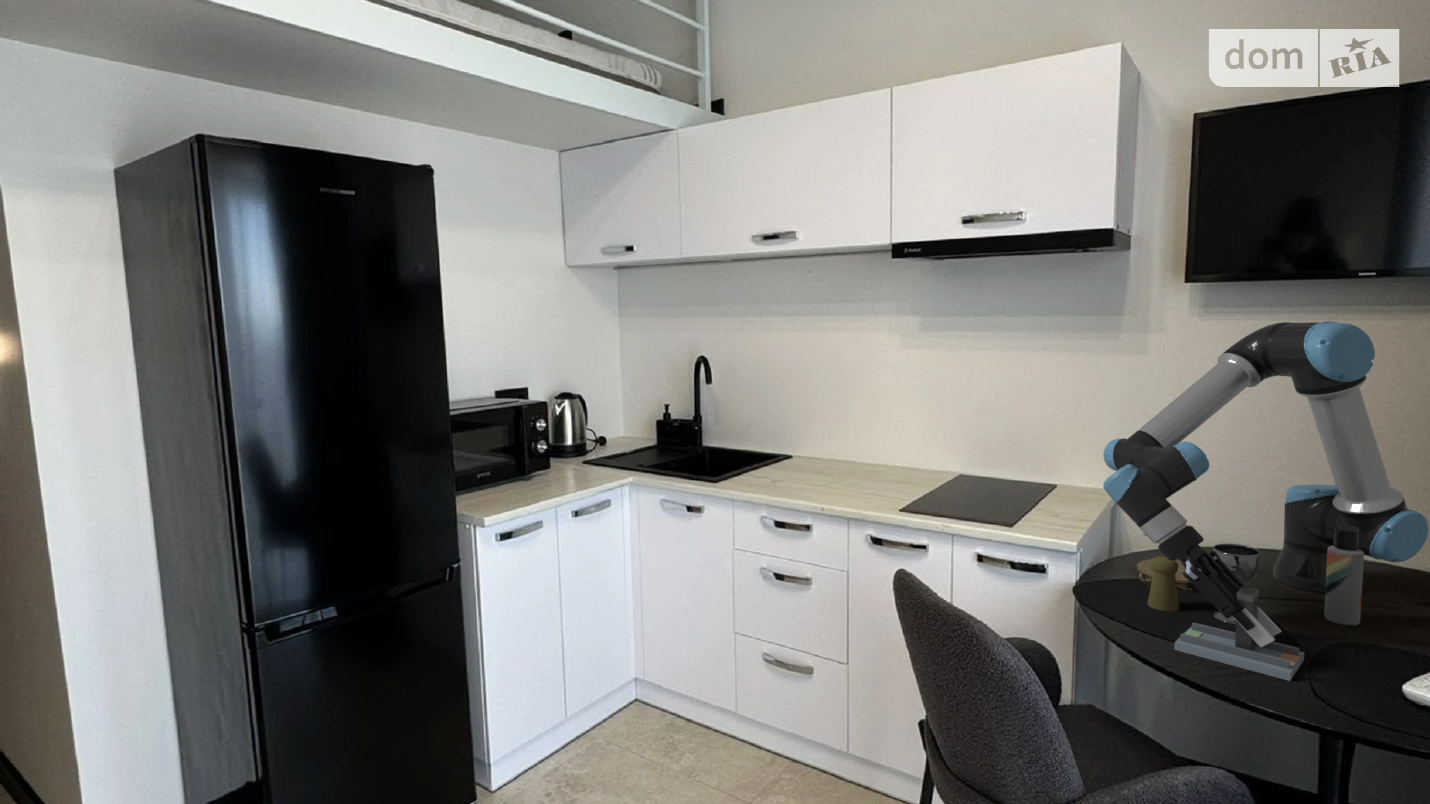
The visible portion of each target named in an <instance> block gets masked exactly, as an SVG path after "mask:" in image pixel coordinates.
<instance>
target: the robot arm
mask: <svg viewBox="0 0 1430 804" xmlns="http://www.w3.org/2000/svg"><path fill="white" fill-rule="evenodd" d="M1375 353H1376V349H1375V346H1374V344H1373V341H1372V339H1371V338H1370V336H1369V334H1368V333H1367V332H1366V331H1364V330H1363V329H1362V328H1360V327H1359V326H1357V325H1354V324H1351V323H1347V322H1346V323H1345V322H1338V321H1329V320H1328V321H1322V322H1321V321H1320V322H1317V321H1315V322H1313V321H1312V322H1290V321H1289V322H1288V321H1286V322H1284V321H1282V322H1276V323H1272V324H1268V325H1265V326H1263V327H1261V328H1259V329H1257V330H1255V331H1252V332H1251V333H1249V334H1248V335H1246V336H1244V337H1243V338H1241V339H1239V340H1238V341H1237V342H1236V343H1234V344H1232V345H1231V346H1230V347H1229V348H1227V349H1226V350H1225V351H1224V352H1222V353H1221V354H1220V355H1219V356H1218V358H1217V364H1215V365H1214V366H1213V367H1212V368H1211V369H1209V371H1207V372H1206V373H1204V374H1203V375H1202V376H1201V377H1200V378H1199V379H1198V380H1196V381H1195V382H1194V383H1193V384H1191V385H1190V386H1188V388H1186V389H1185V390H1184V391H1183V392H1182V393H1180V395H1179V396H1177V397H1176V398H1175V399H1173V401H1171V402H1170V403H1169V404H1168V405H1166V406H1165V407H1164V408H1163V409H1161V411H1159V412H1158V413H1157V414H1156V415H1154V416H1153V417H1152V418H1151V419H1149V420H1148V421H1147V422H1146V423H1145V424H1143V426H1141V427H1140V428H1139V429H1138V430H1136V431H1135V432H1134V433H1133V434H1132V435H1130V436H1129V437H1128V438H1115V439H1112V440H1110V441H1109V442H1108V443H1107V444H1106V445H1105V447H1104V450H1103V455H1102V457H1103V461H1104V463H1105V465H1106V466H1107V467H1108V468H1109V469H1111V470H1113V471H1115V472H1113V473H1112V474H1111V475H1109V476H1108V477H1107V478H1106V479H1105V480H1104V482H1103V485H1102V487H1103V489H1104V490H1105V492H1106V493H1107V495H1108V496H1109V497H1110V498H1111V499H1112V501H1113V503H1115V504H1116V505H1117V506H1118V507H1119V508H1120V509H1121V510H1122V511H1123V512H1124V513H1125V514H1126V516H1128V517H1129V518H1130V520H1132V521H1133V522H1134V523H1135V525H1136V526H1137V527H1138V528H1139V529H1140V530H1141V531H1142V535H1143V536H1144V537H1147V538H1148V539H1149V540H1150V541H1151V542H1152V543H1153V544H1158V546H1157V547H1158V550H1159V551H1160V552H1161V553H1162V554H1163V555H1164V557H1167V558H1168V559H1169V560H1170V561H1174V560H1180V561H1181V563H1182V564H1183V566H1184V567H1185V568H1186V571H1184V572H1183V573H1182V574H1183V576H1184V577H1185V578H1187V579H1188V580H1189V581H1190V582H1192V583H1193V584H1194V585H1195V586H1196V587H1197V588H1198V589H1199V590H1200V592H1199V593H1201V594H1202V595H1203V596H1204V597H1205V598H1206V599H1207V600H1208V601H1209V602H1210V603H1211V604H1212V606H1214V607H1215V609H1216V610H1217V611H1218V612H1220V613H1221V614H1222V615H1223V616H1224V617H1225V618H1227V619H1228V618H1230V617H1231V616H1232V617H1233V618H1234V619H1235V620H1236V621H1237V622H1238V623H1239V624H1240V626H1241V627H1242V628H1243V629H1244V630H1245V631H1246V632H1247V633H1248V634H1249V635H1250V636H1251V637H1252V638H1253V639H1254V641H1255V642H1256V643H1257V644H1258V645H1259V646H1260V647H1263V646H1265V645H1266V644H1268V643H1270V642H1275V640H1276V638H1275V636H1276V635H1279V634H1281V632H1282V630H1281V628H1279V626H1277V624H1276V623H1274V622H1273V620H1272V619H1271V618H1270V617H1269V615H1267V614H1266V613H1265V612H1264V611H1263V610H1262V609H1261V608H1260V606H1258V614H1257V619H1256V618H1255V617H1254V616H1253V615H1252V614H1251V613H1250V612H1249V611H1248V610H1247V609H1246V608H1245V609H1242V607H1241V606H1240V605H1239V603H1238V602H1237V592H1238V591H1239V590H1240V589H1241V588H1242V587H1247V585H1246V586H1245V585H1244V584H1243V583H1242V582H1241V581H1240V579H1239V578H1238V577H1237V576H1236V575H1235V574H1234V573H1233V572H1232V571H1231V570H1230V569H1229V568H1228V567H1227V566H1226V565H1225V564H1224V562H1223V561H1222V560H1221V559H1220V557H1219V556H1218V555H1217V553H1216V552H1214V551H1213V550H1212V551H1210V552H1208V551H1207V550H1205V549H1204V548H1203V547H1201V546H1200V544H1201V543H1203V542H1204V537H1203V536H1202V535H1201V534H1200V533H1199V532H1198V531H1197V530H1196V529H1195V527H1193V525H1189V524H1187V523H1188V519H1186V518H1185V516H1183V514H1181V513H1180V512H1179V511H1178V509H1177V508H1175V507H1174V505H1172V504H1171V502H1170V501H1169V500H1168V499H1169V498H1170V497H1172V496H1173V495H1174V494H1176V493H1178V492H1179V491H1181V490H1183V489H1184V488H1185V487H1187V486H1189V485H1190V484H1193V483H1194V482H1196V481H1197V480H1198V478H1200V477H1201V476H1203V475H1204V474H1205V473H1206V472H1208V470H1209V468H1210V461H1209V459H1208V457H1207V455H1206V453H1205V452H1204V451H1203V450H1202V449H1201V448H1200V447H1199V446H1198V445H1196V444H1195V443H1193V442H1190V441H1184V439H1186V438H1187V437H1188V436H1190V435H1191V434H1193V432H1195V431H1196V430H1197V429H1199V428H1200V427H1201V426H1202V425H1203V424H1204V423H1205V422H1207V421H1208V420H1209V419H1210V418H1212V417H1213V416H1214V415H1215V414H1216V413H1218V412H1219V411H1220V410H1221V409H1222V408H1223V407H1224V406H1226V405H1227V404H1228V403H1229V402H1231V401H1232V400H1233V399H1234V398H1235V397H1237V396H1238V395H1239V394H1240V393H1242V392H1243V391H1245V389H1246V388H1254V387H1256V386H1258V385H1259V384H1260V383H1261V382H1263V381H1264V380H1266V379H1269V378H1272V377H1289V378H1291V380H1292V382H1293V383H1292V384H1293V386H1294V390H1295V392H1296V393H1297V394H1298V395H1300V396H1303V397H1305V398H1307V400H1308V404H1309V406H1310V410H1311V412H1312V415H1313V420H1314V422H1315V424H1316V429H1317V431H1318V435H1319V438H1320V441H1321V443H1322V447H1323V449H1324V453H1325V455H1326V458H1327V462H1328V465H1329V468H1330V472H1331V474H1332V478H1333V480H1334V481H1333V482H1334V485H1333V484H1299V485H1294V486H1290V487H1288V489H1287V490H1286V494H1285V495H1286V496H1285V501H1284V518H1283V519H1284V521H1283V522H1284V523H1283V546H1282V549H1281V550H1280V552H1279V555H1278V557H1277V560H1276V562H1275V564H1274V565H1273V569H1272V570H1273V571H1272V573H1273V574H1272V577H1273V578H1274V579H1275V580H1276V581H1278V582H1280V583H1282V584H1284V585H1287V586H1290V587H1294V588H1297V589H1301V590H1306V591H1313V592H1319V593H1325V589H1326V569H1327V551H1328V547H1330V546H1333V544H1334V529H1335V527H1337V525H1340V524H1345V525H1350V526H1353V527H1355V528H1358V529H1359V546H1358V549H1360V550H1362V551H1363V552H1364V556H1367V557H1370V558H1373V559H1374V560H1379V561H1382V560H1383V561H1386V562H1389V563H1402V562H1406V561H1408V560H1410V559H1411V558H1413V557H1415V556H1416V555H1417V554H1418V553H1419V552H1420V551H1421V550H1422V549H1423V546H1424V544H1425V543H1426V542H1427V539H1428V535H1429V523H1428V521H1427V517H1425V516H1424V514H1422V513H1421V512H1419V511H1417V510H1414V509H1409V508H1408V507H1407V504H1406V501H1405V498H1404V494H1403V493H1402V492H1401V491H1400V490H1399V489H1396V488H1394V487H1392V486H1391V484H1390V480H1389V478H1388V475H1387V472H1386V471H1387V470H1386V469H1385V464H1384V463H1383V458H1382V455H1381V452H1380V449H1379V446H1378V442H1377V439H1376V436H1375V433H1374V430H1373V429H1374V428H1373V427H1372V423H1371V420H1370V417H1369V414H1368V409H1367V407H1366V405H1365V401H1364V397H1363V394H1362V391H1361V388H1360V387H1361V386H1362V385H1363V384H1364V383H1365V382H1366V380H1367V374H1368V373H1369V372H1370V371H1371V369H1372V368H1373V365H1374V363H1373V362H1372V360H1375V358H1376V357H1375V356H1376V354H1375Z"/></svg>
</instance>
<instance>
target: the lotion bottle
mask: <svg viewBox="0 0 1430 804" xmlns="http://www.w3.org/2000/svg"><path fill="white" fill-rule="evenodd" d="M1358 546H1359V529H1358V528H1355V527H1353V526H1350V525H1345V524H1340V525H1337V527H1335V529H1334V544H1333V546H1330V547H1328V551H1327V569H1326V589H1325V592H1324V593H1325V594H1324V609H1323V610H1324V611H1323V613H1324V614H1323V615H1324V618H1325V619H1326V620H1327V621H1330V622H1332V623H1334V624H1339V625H1343V626H1358V625H1359V624H1360V623H1361V617H1362V616H1361V614H1362V612H1361V611H1362V597H1363V596H1362V595H1363V577H1364V557H1365V555H1364V552H1363V551H1362V550H1360V549H1358Z"/></svg>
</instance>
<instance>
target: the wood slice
mask: <svg viewBox="0 0 1430 804" xmlns="http://www.w3.org/2000/svg"><path fill="white" fill-rule="evenodd" d="M1152 559H1153V558H1149V559H1143V560H1140V561H1138V563H1137V564H1136V577H1137V579H1138V580H1139V579H1140V580H1139V581H1141V582H1142V583H1144V584H1146V583H1147V584H1146V585H1149V586H1151V583H1152V577H1153V570H1152V569H1151V561H1152ZM1175 560H1176V562H1177V563H1178V571H1177V573H1176V574H1175V578H1176V585H1177V592H1183V593H1201V592H1200V590H1199V589H1198V588H1197V587H1196V586H1195V585H1194V584H1193V583H1192V582H1190V581H1189V580H1188V579H1187V578H1185V577H1184V576H1183V574H1182V573H1183V572H1184V571H1186V568H1185V567H1184V566H1183V564H1182V563H1181V561H1180V560H1179V559H1175Z"/></svg>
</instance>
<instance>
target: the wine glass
mask: <svg viewBox="0 0 1430 804" xmlns="http://www.w3.org/2000/svg"><path fill="white" fill-rule="evenodd" d="M1212 551H1214V552H1216V553H1217V555H1218V556H1219V557H1220V559H1221V560H1222V561H1223V562H1224V564H1225V565H1226V566H1227V567H1228V568H1229V569H1230V570H1231V571H1232V572H1233V573H1234V574H1235V575H1236V576H1237V577H1238V578H1239V579H1240V581H1241V582H1242V583H1243V584H1244V585H1245V586H1246V587H1247V585H1248V584H1250V583H1251V582H1252V581H1253V580H1255V578H1256V576H1257V574H1258V571H1259V567H1260V560H1261V557H1260V556H1261V552H1260V550H1259V549H1257V548H1255V547H1253V546H1249V545H1244V544H1238V543H1217V544H1214V545H1213V550H1212ZM1213 616H1214V618H1215V619H1217V620H1219V621H1221V622H1224V623H1227V624H1232V625H1236V620H1235V619H1234V618H1233V617H1232V616H1231V617H1230V618H1228V619H1227V618H1225V617H1224V616H1223V615H1222V614H1221V613H1220V612H1219V611H1216V612H1213Z"/></svg>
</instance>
